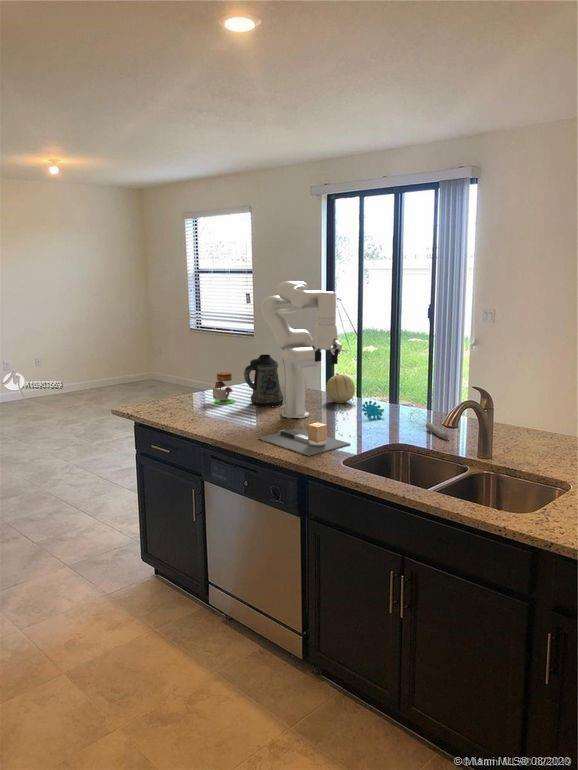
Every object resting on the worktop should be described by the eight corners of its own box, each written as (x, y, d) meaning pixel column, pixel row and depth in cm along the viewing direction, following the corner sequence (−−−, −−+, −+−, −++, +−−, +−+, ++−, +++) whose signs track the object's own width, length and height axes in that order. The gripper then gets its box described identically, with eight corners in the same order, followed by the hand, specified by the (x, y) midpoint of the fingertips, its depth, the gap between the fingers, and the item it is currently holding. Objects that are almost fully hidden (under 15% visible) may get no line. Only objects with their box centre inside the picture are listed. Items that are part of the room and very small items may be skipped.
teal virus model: (365, 417, 266) (361, 399, 272) (359, 424, 271) (356, 406, 277) (387, 419, 270) (383, 400, 275) (382, 426, 274) (377, 407, 280)
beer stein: (289, 403, 303) (289, 354, 298) (268, 410, 287) (267, 359, 282) (263, 399, 312) (262, 351, 307) (240, 406, 296) (239, 356, 291)
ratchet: (275, 435, 243) (275, 420, 241) (287, 432, 247) (287, 418, 246) (317, 448, 225) (317, 433, 223) (329, 445, 229) (329, 430, 228)
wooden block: (308, 439, 229) (308, 424, 228) (317, 437, 232) (317, 422, 231) (317, 442, 225) (317, 427, 224) (326, 440, 228) (326, 424, 227)
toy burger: (222, 398, 314) (221, 370, 311) (240, 401, 307) (240, 372, 304) (206, 402, 305) (206, 373, 302) (225, 405, 298) (224, 376, 295)
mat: (257, 439, 239) (257, 437, 239) (298, 429, 253) (298, 428, 253) (308, 456, 217) (308, 455, 217) (350, 444, 231) (350, 443, 231)
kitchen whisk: (441, 442, 235) (442, 426, 234) (404, 421, 267) (405, 408, 266) (455, 441, 237) (456, 425, 235) (417, 421, 269) (417, 407, 268)
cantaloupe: (346, 407, 293) (347, 377, 290) (320, 404, 301) (320, 374, 298) (359, 401, 306) (360, 372, 303) (334, 398, 313) (334, 370, 310)
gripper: (305, 321, 251) (305, 361, 254) (334, 323, 238) (334, 366, 241) (318, 319, 255) (318, 359, 259) (347, 322, 243) (347, 364, 246)
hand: (326, 362), depth 250 cm, fingers open, 9 cm apart
